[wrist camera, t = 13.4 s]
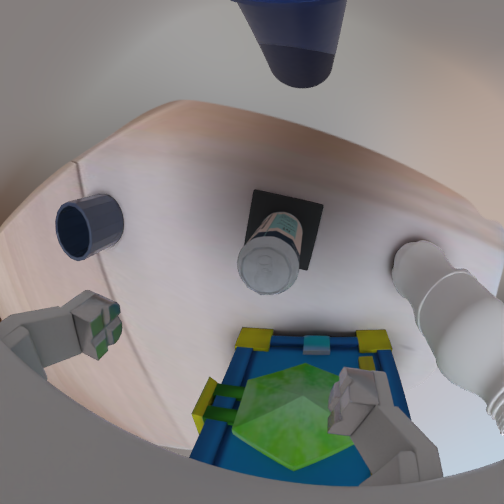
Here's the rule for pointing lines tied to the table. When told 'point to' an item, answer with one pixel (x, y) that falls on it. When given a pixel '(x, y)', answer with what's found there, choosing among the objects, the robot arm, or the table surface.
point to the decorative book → (288, 407)
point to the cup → (88, 225)
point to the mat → (298, 208)
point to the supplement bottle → (272, 255)
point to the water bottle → (455, 321)
